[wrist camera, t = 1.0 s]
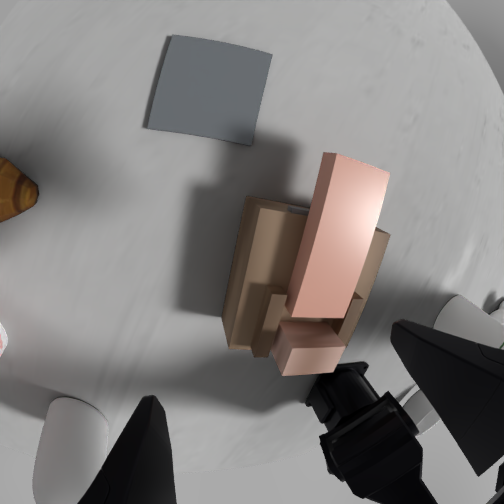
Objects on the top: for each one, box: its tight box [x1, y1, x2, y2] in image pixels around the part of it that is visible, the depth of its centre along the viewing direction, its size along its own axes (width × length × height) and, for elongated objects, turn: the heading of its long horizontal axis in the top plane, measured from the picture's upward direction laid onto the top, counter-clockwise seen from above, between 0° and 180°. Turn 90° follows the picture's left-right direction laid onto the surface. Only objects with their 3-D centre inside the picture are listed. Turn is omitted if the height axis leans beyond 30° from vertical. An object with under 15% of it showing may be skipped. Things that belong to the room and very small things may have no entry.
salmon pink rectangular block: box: [284, 152, 390, 318], centre depth 17 cm, size 4×10×2 cm, turn 167°
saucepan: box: [402, 389, 441, 438], centre depth 38 cm, size 12×20×6 cm, turn 58°
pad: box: [147, 35, 273, 146], centre depth 16 cm, size 7×7×1 cm
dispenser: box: [222, 196, 390, 376], centre depth 19 cm, size 10×10×7 cm
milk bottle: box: [33, 397, 108, 504], centre depth 14 cm, size 8×8×20 cm
